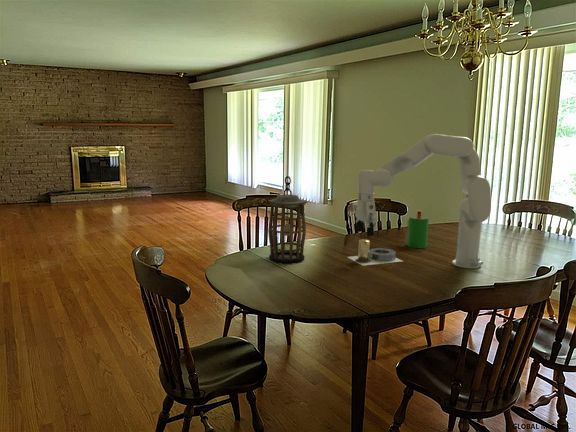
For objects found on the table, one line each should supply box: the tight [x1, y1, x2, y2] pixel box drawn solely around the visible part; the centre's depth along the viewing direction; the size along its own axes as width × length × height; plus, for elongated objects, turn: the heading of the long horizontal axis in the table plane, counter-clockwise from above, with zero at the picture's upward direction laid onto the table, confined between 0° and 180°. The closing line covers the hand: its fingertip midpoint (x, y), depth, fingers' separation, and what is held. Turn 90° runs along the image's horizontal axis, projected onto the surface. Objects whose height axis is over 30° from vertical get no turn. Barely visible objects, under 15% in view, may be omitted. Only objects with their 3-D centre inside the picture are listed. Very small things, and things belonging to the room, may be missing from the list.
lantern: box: [266, 175, 308, 265], centre depth 215 cm, size 19×19×40 cm
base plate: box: [347, 255, 403, 267], centre depth 217 cm, size 15×22×1 cm
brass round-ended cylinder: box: [357, 238, 371, 262], centre depth 213 cm, size 5×5×10 cm
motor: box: [406, 209, 430, 249], centre depth 245 cm, size 10×9×20 cm
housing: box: [369, 247, 397, 261], centre depth 219 cm, size 13×13×3 cm
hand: (364, 233), depth 211 cm, fingers open, 9 cm apart
